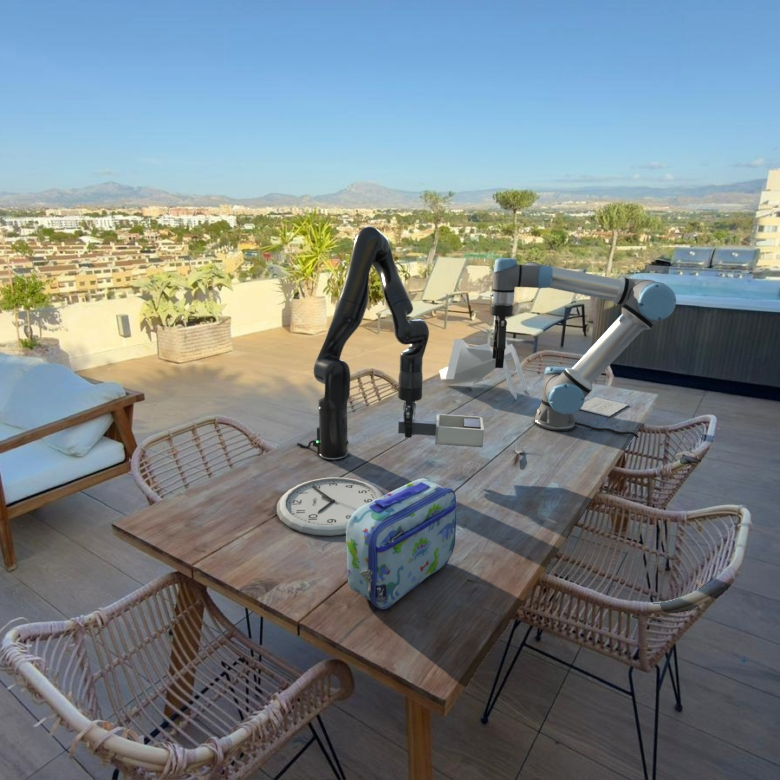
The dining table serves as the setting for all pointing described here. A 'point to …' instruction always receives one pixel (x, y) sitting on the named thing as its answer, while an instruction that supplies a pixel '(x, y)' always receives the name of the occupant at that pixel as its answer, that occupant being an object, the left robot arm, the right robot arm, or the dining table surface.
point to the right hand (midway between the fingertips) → (497, 363)
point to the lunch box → (400, 540)
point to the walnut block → (472, 423)
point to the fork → (518, 452)
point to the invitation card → (602, 406)
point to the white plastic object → (479, 365)
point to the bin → (448, 430)
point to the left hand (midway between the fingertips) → (408, 434)
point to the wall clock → (324, 504)
